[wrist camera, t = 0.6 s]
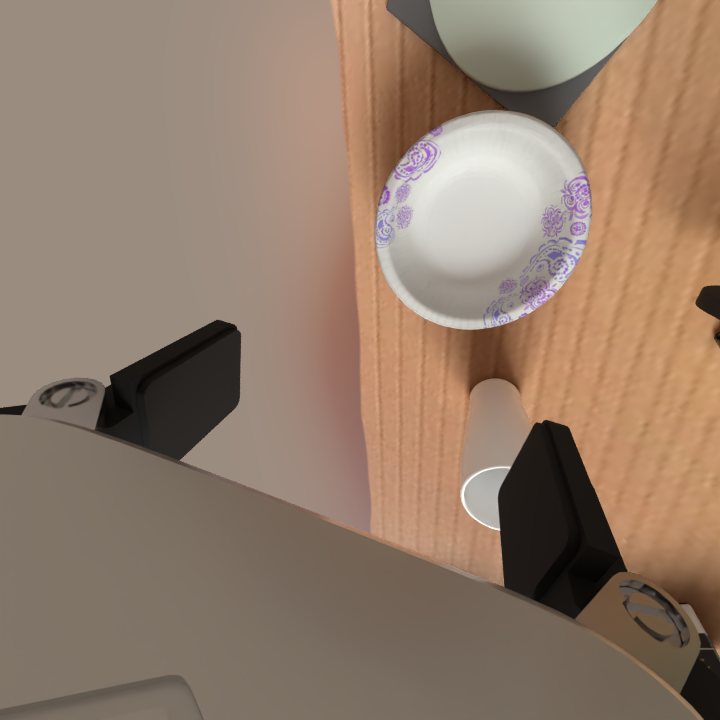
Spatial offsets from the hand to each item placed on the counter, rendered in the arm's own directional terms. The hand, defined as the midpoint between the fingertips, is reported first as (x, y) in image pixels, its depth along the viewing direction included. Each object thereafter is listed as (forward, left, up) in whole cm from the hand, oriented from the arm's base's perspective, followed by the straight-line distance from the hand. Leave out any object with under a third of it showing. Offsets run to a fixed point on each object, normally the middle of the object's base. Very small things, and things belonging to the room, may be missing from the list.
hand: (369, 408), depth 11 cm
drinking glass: (+8, +15, -28) cm, 32 cm away
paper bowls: (-4, +1, -28) cm, 28 cm away
